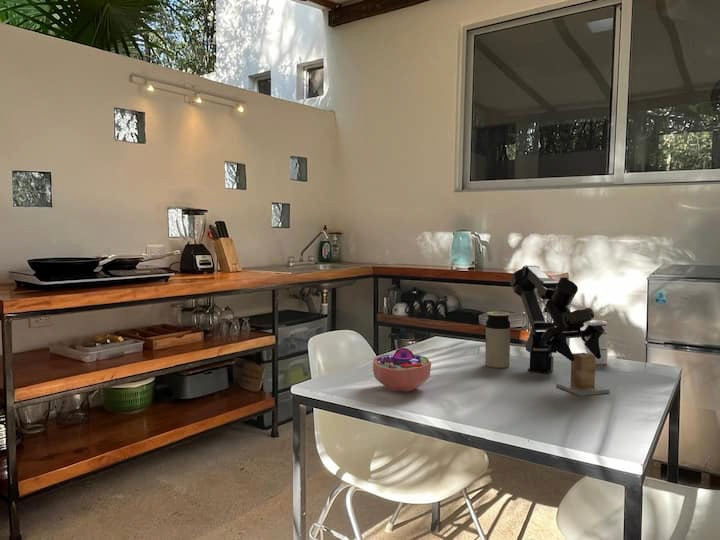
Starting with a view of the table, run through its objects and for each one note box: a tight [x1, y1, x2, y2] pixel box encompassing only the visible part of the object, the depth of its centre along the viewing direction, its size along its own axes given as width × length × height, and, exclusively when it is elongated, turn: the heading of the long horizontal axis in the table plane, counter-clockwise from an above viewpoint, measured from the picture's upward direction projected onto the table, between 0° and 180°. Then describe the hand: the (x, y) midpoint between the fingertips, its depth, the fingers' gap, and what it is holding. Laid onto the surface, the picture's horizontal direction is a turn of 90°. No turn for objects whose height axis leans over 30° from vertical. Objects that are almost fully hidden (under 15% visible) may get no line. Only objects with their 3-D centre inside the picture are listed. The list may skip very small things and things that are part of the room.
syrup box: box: [586, 319, 609, 365], centre depth 192 cm, size 6×6×14 cm
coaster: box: [555, 381, 611, 397], centre depth 157 cm, size 10×10×1 cm
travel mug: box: [484, 311, 511, 369], centre depth 186 cm, size 8×8×18 cm
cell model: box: [372, 347, 432, 393], centre depth 157 cm, size 17×20×11 cm
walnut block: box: [570, 352, 596, 389], centre depth 157 cm, size 4×4×9 cm
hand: (586, 359), depth 155 cm, fingers open, 9 cm apart
